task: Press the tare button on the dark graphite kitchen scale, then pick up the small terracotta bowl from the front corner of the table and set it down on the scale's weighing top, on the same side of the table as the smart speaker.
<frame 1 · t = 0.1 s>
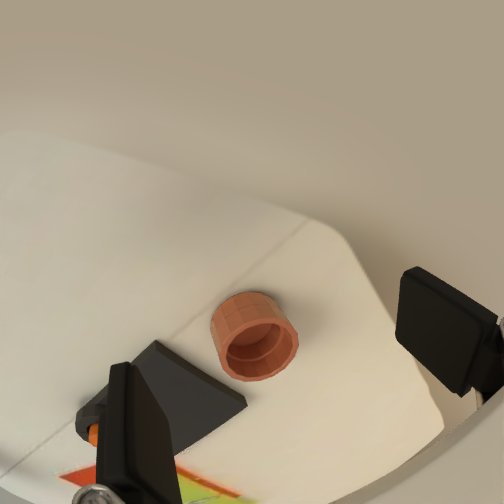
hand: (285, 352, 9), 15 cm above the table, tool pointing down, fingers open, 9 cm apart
small bowl: (245, 321, 27), on the table
scale: (158, 409, 28), on the table
tare button: (101, 436, 23), point 3 cm above the table, slide at 0.1 cm
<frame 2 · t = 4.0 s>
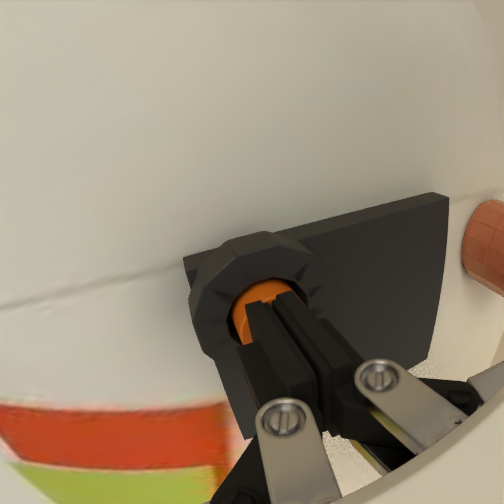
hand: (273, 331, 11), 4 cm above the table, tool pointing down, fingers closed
small bowl: (481, 237, 18), on the table
scale: (338, 319, 16), on the table
tare button: (269, 316, 11), point 3 cm above the table, slide at -0.3 cm, touching gripper
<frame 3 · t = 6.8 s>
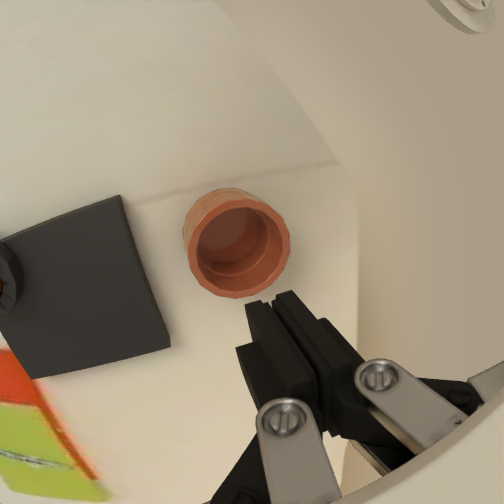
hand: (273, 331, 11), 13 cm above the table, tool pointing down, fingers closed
small bowl: (225, 230, 22), on the table
scale: (64, 297, 20), on the table
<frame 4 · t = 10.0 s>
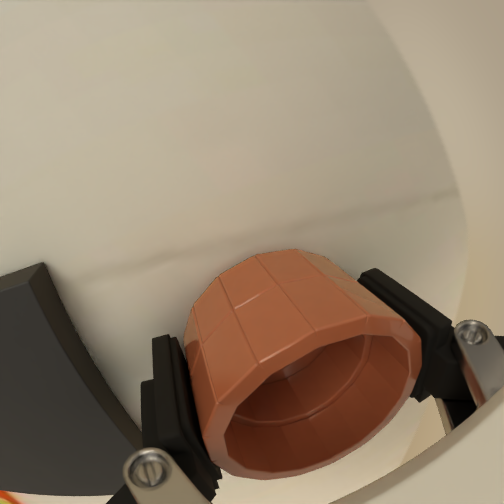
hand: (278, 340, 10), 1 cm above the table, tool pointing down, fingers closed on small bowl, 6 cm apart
small bowl: (270, 326, 11), on the table, touching gripper
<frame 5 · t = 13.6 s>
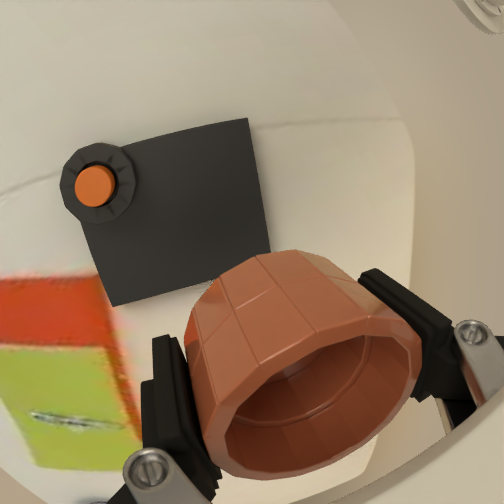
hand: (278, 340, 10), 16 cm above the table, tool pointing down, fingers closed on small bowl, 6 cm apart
small bowl: (270, 327, 11), point 15 cm above the table, touching gripper
scale: (171, 211, 24), on the table
tare button: (95, 185, 18), point 3 cm above the table, slide at 0.1 cm
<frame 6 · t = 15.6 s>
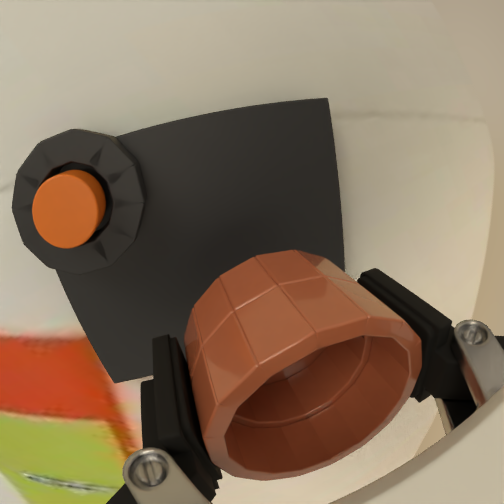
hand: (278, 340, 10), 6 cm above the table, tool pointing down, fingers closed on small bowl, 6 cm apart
small bowl: (270, 327, 11), point 6 cm above the table, touching gripper
scale: (201, 244, 15), on the table
tare button: (69, 207, 10), point 3 cm above the table, slide at 0.1 cm
when the fingers open (2 cm above the table, at t = 17.2 s): small bowl stays where it is, resting on scale.
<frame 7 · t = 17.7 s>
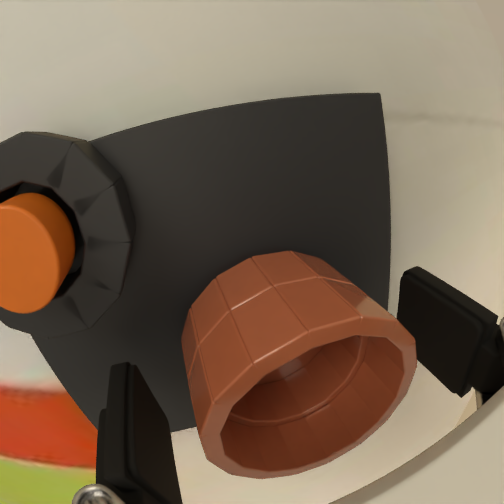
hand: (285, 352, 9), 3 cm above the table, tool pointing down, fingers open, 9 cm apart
small bowl: (267, 327, 11), point 1 cm above the table, touching scale
scale: (211, 285, 11), on the table
tare button: (22, 251, 6), point 3 cm above the table, slide at 0.1 cm
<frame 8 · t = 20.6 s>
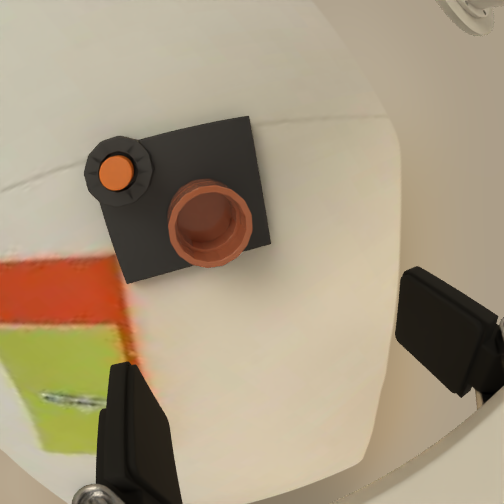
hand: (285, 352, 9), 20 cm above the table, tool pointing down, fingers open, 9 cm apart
small bowl: (203, 213, 26), point 1 cm above the table, touching scale
scale: (181, 198, 27), on the table
tare button: (116, 172, 21), point 3 cm above the table, slide at 0.1 cm
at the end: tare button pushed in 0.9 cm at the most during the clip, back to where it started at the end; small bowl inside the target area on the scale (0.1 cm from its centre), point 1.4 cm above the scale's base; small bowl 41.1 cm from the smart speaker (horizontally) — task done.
